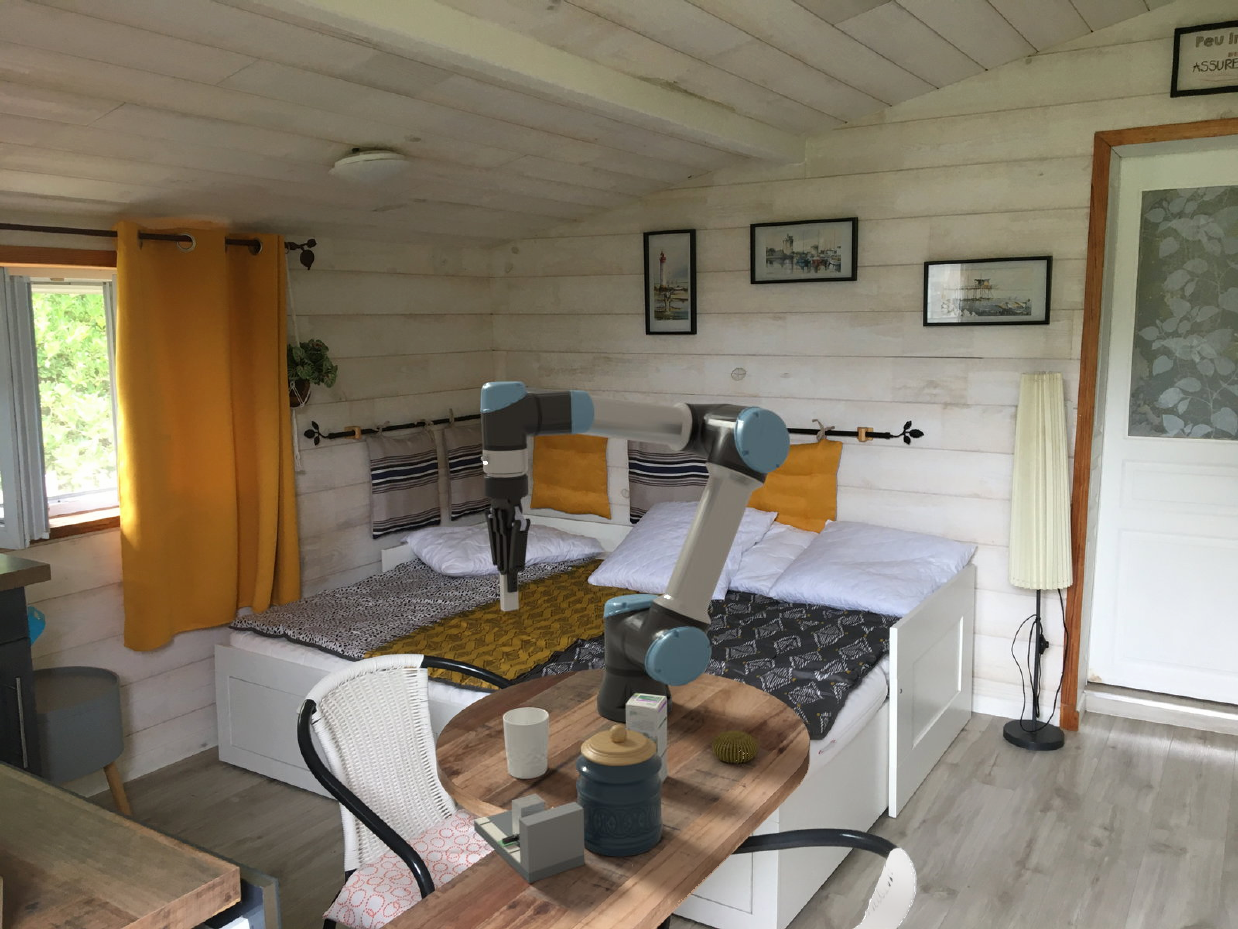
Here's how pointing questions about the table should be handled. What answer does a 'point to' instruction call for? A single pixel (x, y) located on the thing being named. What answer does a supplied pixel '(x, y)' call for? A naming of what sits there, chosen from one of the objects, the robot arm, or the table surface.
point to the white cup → (526, 741)
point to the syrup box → (650, 722)
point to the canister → (620, 792)
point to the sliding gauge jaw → (523, 813)
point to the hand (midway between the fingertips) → (509, 609)
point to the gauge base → (538, 840)
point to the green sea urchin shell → (734, 746)
